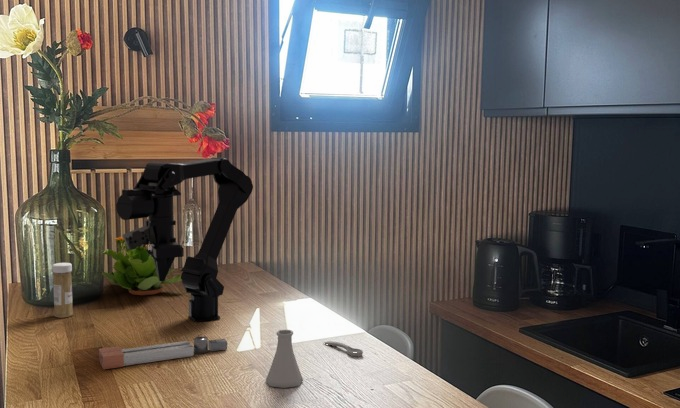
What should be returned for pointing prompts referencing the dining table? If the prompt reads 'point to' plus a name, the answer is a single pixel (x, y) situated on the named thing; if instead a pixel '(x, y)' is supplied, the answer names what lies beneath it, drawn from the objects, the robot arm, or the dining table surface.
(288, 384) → the flask
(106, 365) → the tongs fixed
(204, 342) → the tong arm
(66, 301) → the sprinkles bottle
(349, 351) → the spoon
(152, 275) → the potted flower
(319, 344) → the dining table surface
